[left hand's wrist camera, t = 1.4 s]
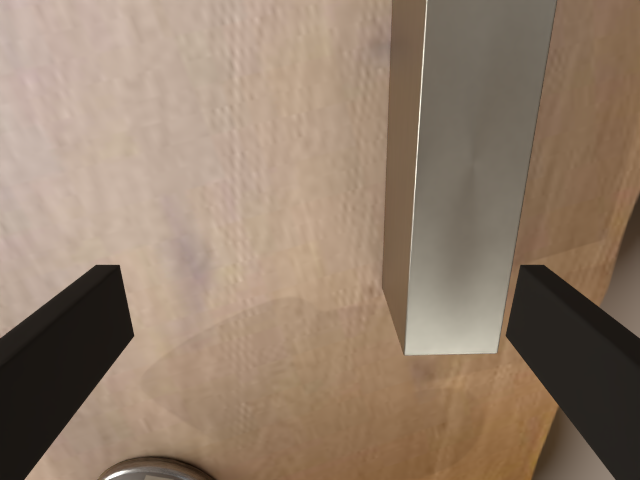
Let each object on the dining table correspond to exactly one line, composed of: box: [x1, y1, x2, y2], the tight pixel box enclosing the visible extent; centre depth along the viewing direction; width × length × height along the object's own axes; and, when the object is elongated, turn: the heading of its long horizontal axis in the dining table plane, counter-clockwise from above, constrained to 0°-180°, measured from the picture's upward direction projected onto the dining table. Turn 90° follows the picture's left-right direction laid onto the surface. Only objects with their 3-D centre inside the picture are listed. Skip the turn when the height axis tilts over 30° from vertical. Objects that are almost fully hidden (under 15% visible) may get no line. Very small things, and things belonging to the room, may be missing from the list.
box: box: [382, 0, 557, 355], centre depth 25 cm, size 25×6×9 cm, turn 2°
